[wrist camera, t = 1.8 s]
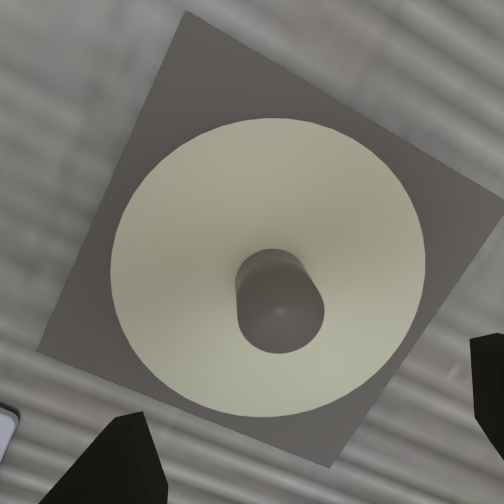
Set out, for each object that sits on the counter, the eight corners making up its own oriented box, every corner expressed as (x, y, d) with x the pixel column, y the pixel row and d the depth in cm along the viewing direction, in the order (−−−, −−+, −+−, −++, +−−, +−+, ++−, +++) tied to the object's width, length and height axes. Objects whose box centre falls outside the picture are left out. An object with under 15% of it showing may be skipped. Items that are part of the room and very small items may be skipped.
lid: (67, 342, 17) (27, 393, 14) (198, 52, 14) (189, 25, 11) (322, 445, 20) (343, 511, 16) (477, 213, 17) (542, 232, 13)
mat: (40, 346, 18) (36, 351, 17) (186, 13, 14) (185, 10, 14) (327, 462, 20) (329, 468, 20) (504, 202, 17) (510, 204, 17)
